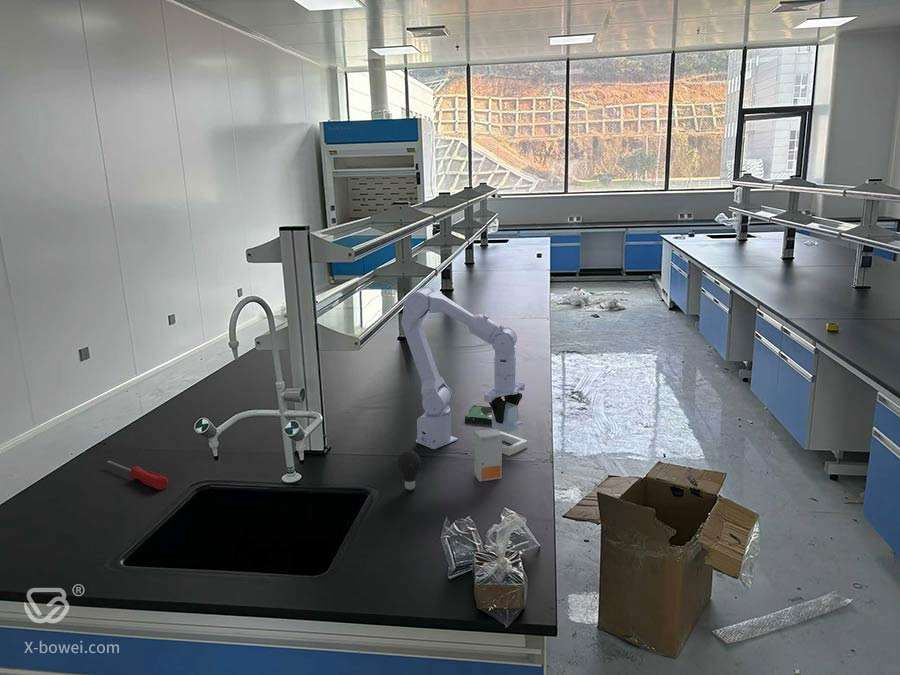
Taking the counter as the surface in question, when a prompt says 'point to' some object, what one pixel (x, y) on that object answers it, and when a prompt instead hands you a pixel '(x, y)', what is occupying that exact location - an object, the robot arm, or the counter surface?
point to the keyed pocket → (517, 444)
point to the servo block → (507, 419)
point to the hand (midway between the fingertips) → (504, 420)
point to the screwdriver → (146, 477)
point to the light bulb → (409, 467)
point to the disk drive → (479, 415)
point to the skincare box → (488, 454)
